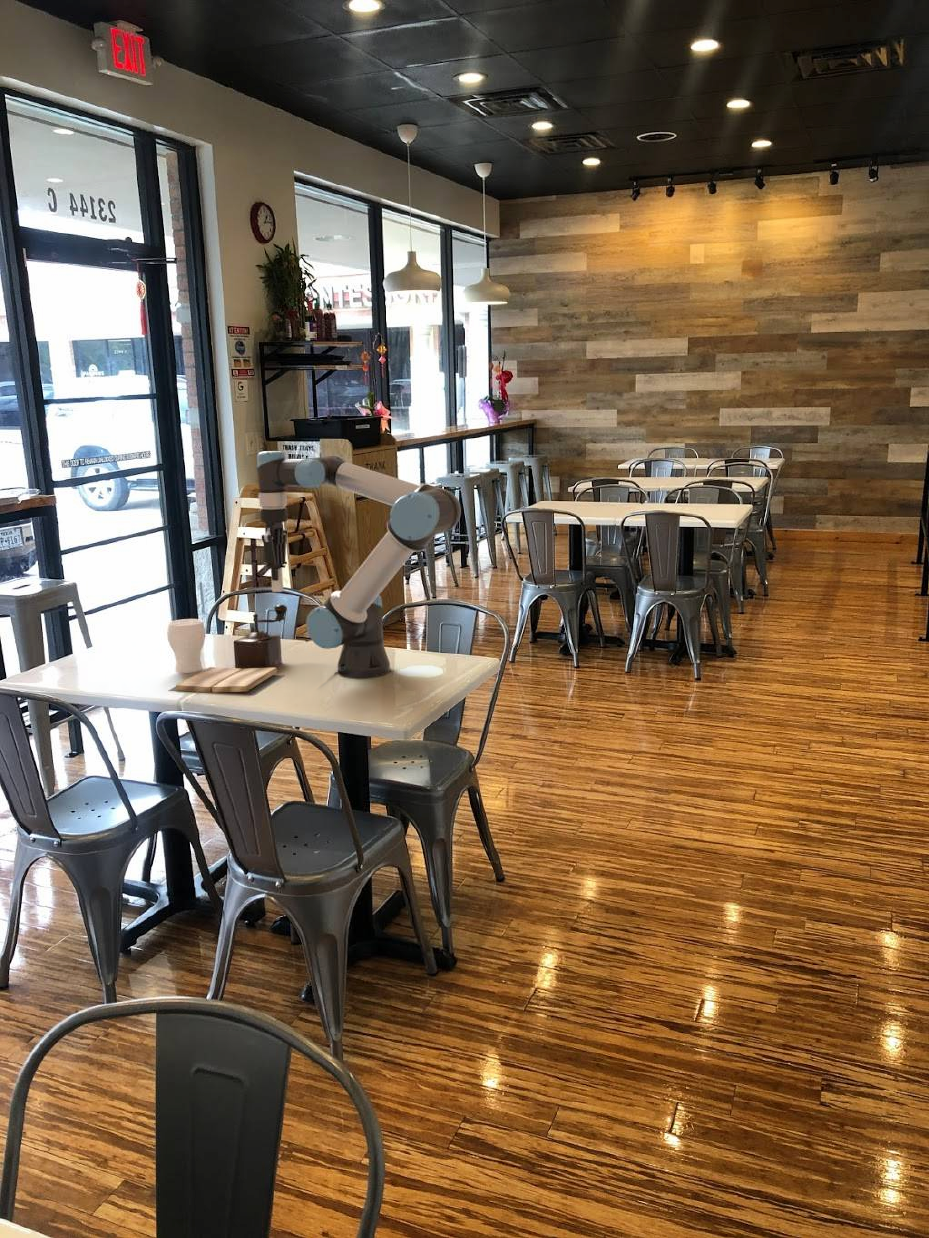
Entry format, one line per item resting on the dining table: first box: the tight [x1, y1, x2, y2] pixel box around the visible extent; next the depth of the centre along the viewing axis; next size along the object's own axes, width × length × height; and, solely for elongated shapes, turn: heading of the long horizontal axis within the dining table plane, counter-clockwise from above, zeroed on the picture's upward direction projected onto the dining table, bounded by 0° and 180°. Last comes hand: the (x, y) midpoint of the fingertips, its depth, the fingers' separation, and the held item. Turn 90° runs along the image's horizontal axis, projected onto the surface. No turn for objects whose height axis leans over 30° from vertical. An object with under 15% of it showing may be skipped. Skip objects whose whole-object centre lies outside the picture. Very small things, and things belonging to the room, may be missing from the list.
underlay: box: [167, 674, 286, 696], centre depth 289 cm, size 25×21×1 cm
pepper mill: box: [233, 603, 288, 669], centre depth 308 cm, size 16×11×18 cm
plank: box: [212, 667, 278, 692], centre depth 288 cm, size 10×20×2 cm, turn 167°
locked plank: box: [175, 666, 242, 693], centre depth 290 cm, size 10×20×2 cm, turn 167°
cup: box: [166, 618, 206, 674], centre depth 303 cm, size 11×11×15 cm
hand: (277, 591), depth 295 cm, fingers closed
